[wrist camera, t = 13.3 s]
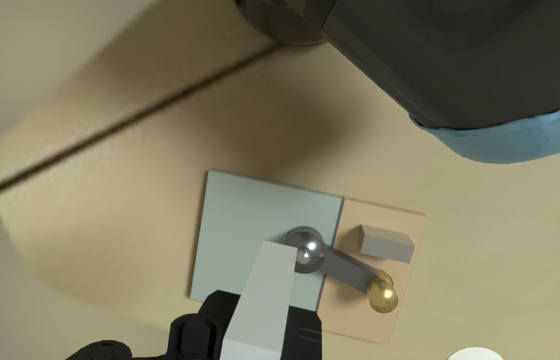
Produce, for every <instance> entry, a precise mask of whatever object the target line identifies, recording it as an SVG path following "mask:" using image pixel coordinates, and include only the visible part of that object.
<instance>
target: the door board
mask: <svg viewBox="0 0 560 360" xmlns="http://www.w3.org/2000/svg"><path fill="white" fill-rule="evenodd" d="M426 221H427V216H426V215H425V214H424V213H419V212H414V211H409V210H405V209H400V208H395V207H391V206H386V205H381V204H376V203H372V202H367V201H362V200H358V199H353V198H348V197H344V196H339V195H334V194H329V193H325V192H320V191H315V190H311V189H306V188H301V187H297V186H292V185H287V184H282V183H278V182H273V181H268V180H264V179H259V178H254V177H249V176H245V175H240V174H235V173H231V172H226V171H221V170H217V169H211V170H209V173H208V180H207V187H206V193H205V200H204V207H203V214H202V221H201V227H200V234H199V241H198V248H197V255H196V262H195V268H194V275H193V282H192V289H191V296H190V298H191V299H195V300H200V301H205V299H206V298H207V296H208V295H210V294H211V293H213V292H214V291H216V290H222V291H226V292H231V293H235V294H239V295H242V292H243V290H244V287H245V285H246V282H247V280H248V277H249V275H250V273H251V270H252V268H253V265H254V263H255V260H256V258H257V255H258V253H259V251H260V248H261V246H262V243H263V241H269V242H273V243H278V244H282V245H284V244H285V240H286V237H287V235H288V234H289V232H290V231H291V230H293V229H294V228H297V227H300V226H308V227H312V228H314V229H316V230H317V231H318V232H319V233H320V234H321V235H322V237H323V239H324V243H325V244H327V245H329V246H331V247H333V248H335V249H337V250H339V251H341V252H343V253H345V254H347V255H349V256H351V257H353V258H355V259H357V260H359V261H361V262H363V263H365V264H367V265H369V266H371V267H373V268H375V269H380V270H383V271H385V272H386V273H387V274H388V275H390V276H391V278H392V280H393V283H394V285H393V287H394V290H395V292H396V295H397V297H398V304H397V307H396V308H395V309H394V310H393V311H391V312H389V313H378V312H376V311H375V310H373V309H372V307H371V306H370V303H369V299H368V295H367V294H365V293H363V292H361V291H359V290H357V289H355V288H353V287H351V286H349V285H347V284H345V283H343V282H341V281H339V280H337V279H335V278H333V277H331V276H329V275H327V274H325V273H323V272H321V271H319V270H316V271H315V272H313V273H309V274H299V273H296V272H294V275H293V281H292V288H291V294H290V301H289V305H290V306H295V307H299V308H303V309H307V310H312V311H316V313H317V315H318V316H319V318H320V320H321V321H322V330H326V331H330V332H334V333H338V334H342V335H347V336H351V337H355V338H359V339H363V340H368V341H372V342H376V343H380V344H384V345H389V343H390V339H391V336H392V333H393V329H394V326H395V323H396V319H397V316H398V313H399V310H400V306H401V303H402V300H403V296H404V293H405V290H406V286H407V283H408V280H409V277H410V273H411V270H412V267H413V263H414V260H415V257H416V254H417V250H418V247H419V244H420V240H421V237H422V234H423V230H424V227H425V224H426ZM361 224H363V225H368V226H373V227H377V228H382V229H386V230H391V231H396V232H400V233H405V234H408V236H409V237H410V239H411V240H412V242H413V243H414V245H415V248H414V252H413V255H412V258H411V262H410V264H408V263H403V262H399V261H394V260H390V259H385V258H381V257H376V256H372V255H367V254H363V253H360V250H359V246H358V243H357V239H358V235H359V231H360V228H361Z"/></svg>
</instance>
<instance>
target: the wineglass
mask: <svg viewBox="0 0 560 360" xmlns="http://www.w3.org/2000/svg"><path fill="white" fill-rule="evenodd" d="M448 360H503V359H502V358H501V357H500V355H499V354H497V353H495V352H493V351H491V350H489V349H485V348H481V347H470V348H466V349H462V350H459V351H457V352H456V353H454V354H453V355H451V356H450V357H449V358H448Z"/></svg>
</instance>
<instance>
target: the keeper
mask: <svg viewBox="0 0 560 360" xmlns="http://www.w3.org/2000/svg"><path fill="white" fill-rule="evenodd" d="M357 243H358V246H359V250H360V253H363V254H367V255H372V256H376V257H381V258H385V259H390V260H394V261H399V262H403V263H408V264H410V262H411V258H412V255H413V252H414V248H415V245H414V243H413V242H412V240H411V239H410V237H409V236H408V234H405V233H400V232H396V231H391V230H386V229H382V228H377V227H373V226H368V225H363V224H361V228H360V231H359V235H358V239H357Z"/></svg>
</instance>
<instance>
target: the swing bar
mask: <svg viewBox="0 0 560 360" xmlns="http://www.w3.org/2000/svg"><path fill="white" fill-rule="evenodd" d="M284 245H287V246H291V247H296V248H298V249H297V255H296V262H295V268H294V272H296V273H299V274H309V273H313V272H315V271H316V270H319V271H321V272H323V273H325V274H327V275H329V276H331V277H333V278H335V279H337V280H339V281H341V282H343V283H345V284H347V285H349V286H351V287H353V288H355V289H357V290H359V291H361V292H363V293H365V294H367V295H368V299H369V303H370V306H371V307H372V309H373V310H375V311H376V312H378V313H389V312H391V311H393V310H394V309H395V308H396V307H397V304H398V297H397V295H396V292H395V290H394V287H393V285H394V283H393V280H392V278H391V276H390V275H388V274H387V273H386V272H385V271H383V270H380V269H375V268H373V267H371V266H369V265H367V264H365V263H363V262H361V261H359V260H357V259H355V258H353V257H351V256H349V255H347V254H345V253H343V252H341V251H339V250H337V249H335V248H333V247H331V246H329V245H327V244H325V243H324V239H323V237H322V235H321V234H320V233H319V232H318V231H317V230H316V229H314V228H312V227H308V226H300V227H297V228H294V229H293V230H291V231H290V232H289V234H288V235H287V237H286V240H285V244H284Z"/></svg>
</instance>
